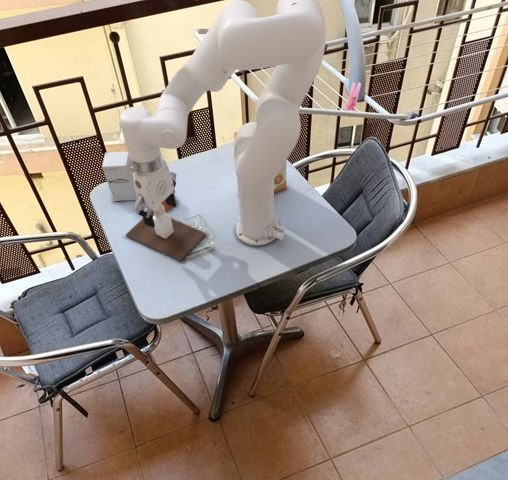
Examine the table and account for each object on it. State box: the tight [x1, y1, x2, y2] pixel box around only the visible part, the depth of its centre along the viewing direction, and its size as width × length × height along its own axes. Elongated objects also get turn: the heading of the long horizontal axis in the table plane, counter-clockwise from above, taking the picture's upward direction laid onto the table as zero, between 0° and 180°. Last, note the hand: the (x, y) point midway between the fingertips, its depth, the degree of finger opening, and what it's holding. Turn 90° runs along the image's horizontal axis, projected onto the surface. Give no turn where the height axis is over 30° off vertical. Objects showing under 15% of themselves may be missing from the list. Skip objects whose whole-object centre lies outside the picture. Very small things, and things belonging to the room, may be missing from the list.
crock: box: [151, 194, 177, 212], centre depth 141 cm, size 8×8×4 cm
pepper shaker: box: [152, 204, 174, 239], centre depth 130 cm, size 4×4×10 cm
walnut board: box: [125, 210, 207, 262], centre depth 134 cm, size 20×12×1 cm, turn 58°
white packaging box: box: [101, 150, 137, 202], centre depth 141 cm, size 7×7×13 cm
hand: (161, 215), depth 128 cm, fingers open, 9 cm apart
